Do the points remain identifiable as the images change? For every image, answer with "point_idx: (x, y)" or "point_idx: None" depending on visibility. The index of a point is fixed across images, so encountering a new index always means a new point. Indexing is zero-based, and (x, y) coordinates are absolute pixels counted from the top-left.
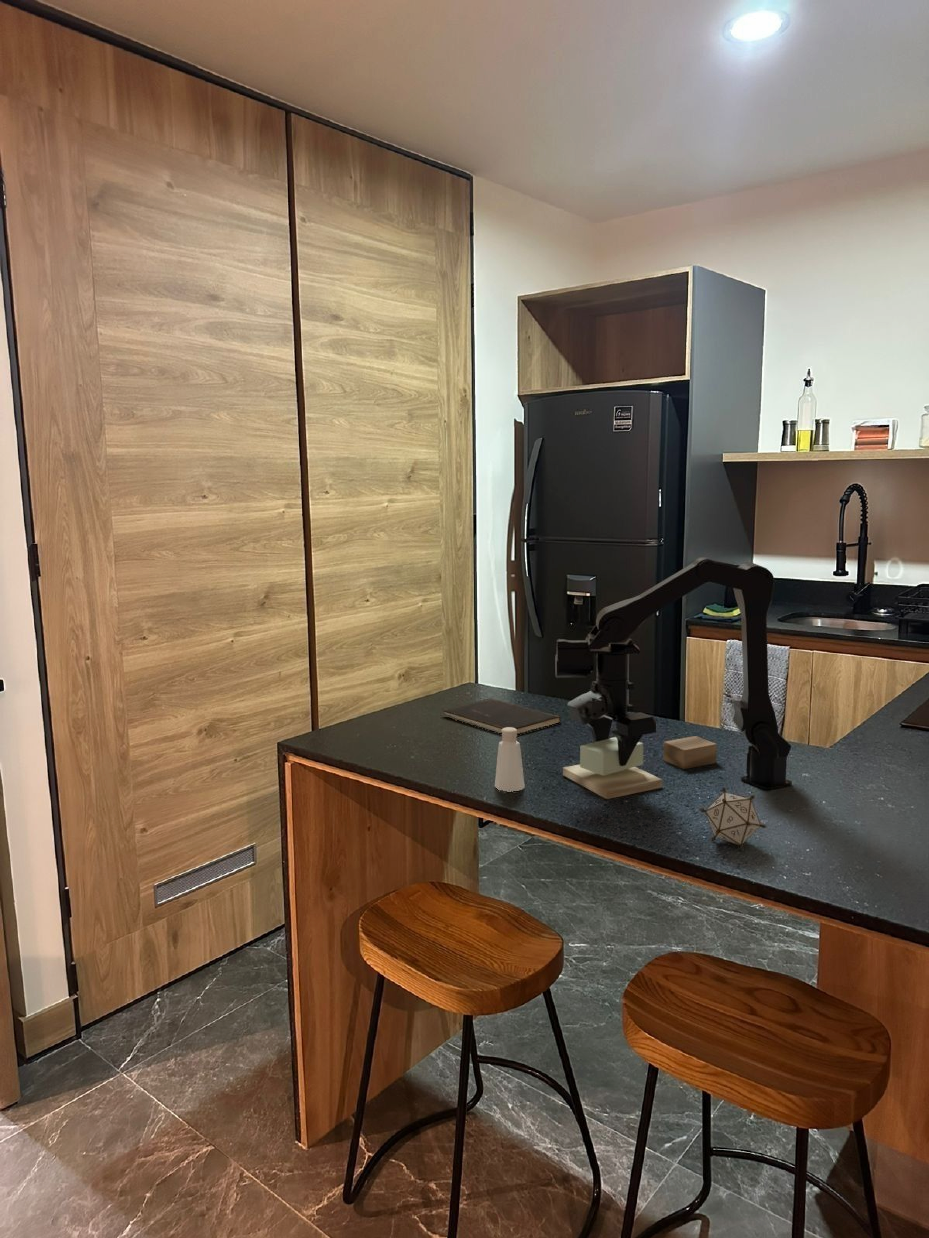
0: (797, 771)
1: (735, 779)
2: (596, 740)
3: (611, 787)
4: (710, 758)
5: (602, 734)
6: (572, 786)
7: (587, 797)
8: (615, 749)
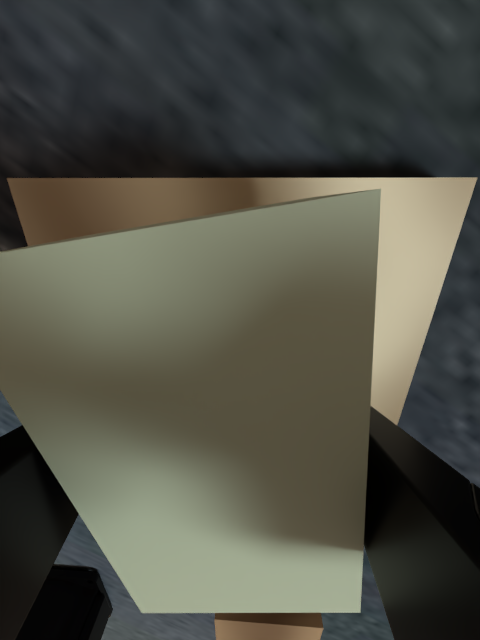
0: (112, 637)
1: (107, 566)
2: (397, 467)
3: (53, 235)
4: None
5: (409, 576)
6: (271, 122)
7: (90, 97)
8: (65, 446)
